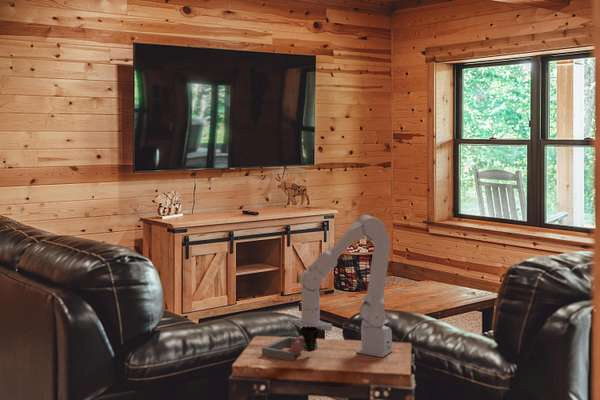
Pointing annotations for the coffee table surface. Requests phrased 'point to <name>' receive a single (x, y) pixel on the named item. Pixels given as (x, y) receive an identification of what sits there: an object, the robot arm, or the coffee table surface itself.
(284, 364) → the coffee table surface
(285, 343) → the controller dock
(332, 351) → the coffee table surface
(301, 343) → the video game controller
